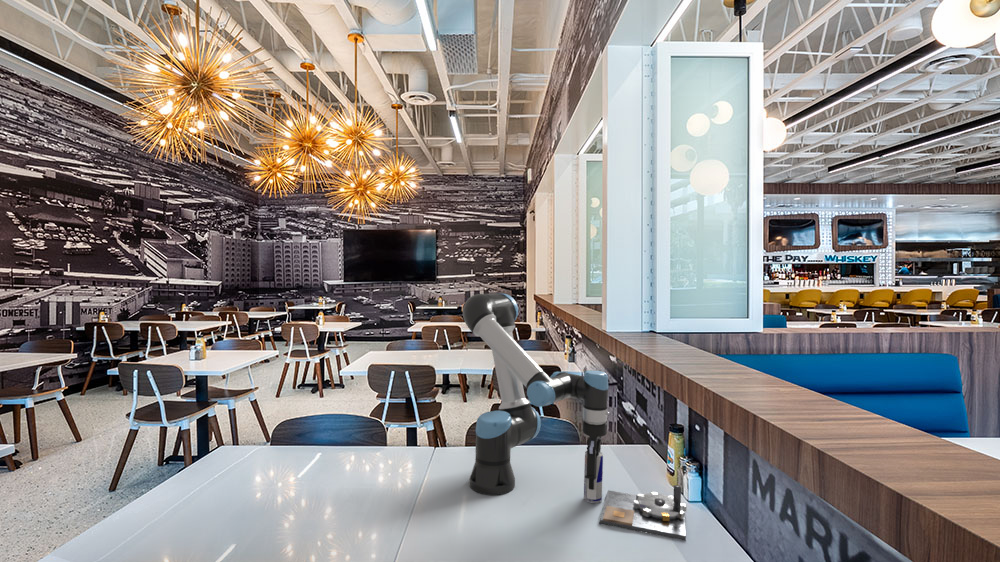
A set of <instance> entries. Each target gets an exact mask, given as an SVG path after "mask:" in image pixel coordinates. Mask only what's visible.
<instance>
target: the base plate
mask: <svg viewBox="0 0 1000 562" xmlns="http://www.w3.org/2000/svg"><path fill="white" fill-rule="evenodd" d="M636 495H637V494H631V493H626V492H625V493H624V492H621V491H615V490H614V491H613V490H609V489H608V490H607V493H606V495H605V496H606V497H605V499H604V503H603V507H602V510H601V514H600V517H599V524H600V525H605V526H609V527H614V528H620V529H624V530H628V531H629V530H630V531H634V530H635V532H639V531H642V532H641V533H645V532H647V533H646V534H650V533H651V535H656V536H661V537H665V538H672V539H677V540H682V541H686V540H687V536H686V535H687V534H686V531H687V529H686V516H685V517H684V518H683V519H679V518H676V519H669V521H663V520H662V519H659V518H655V517H651V516H649V517H646V516H644V515H643V512H641V511H640V510H639V509H638V508H634V500H636ZM636 501H637V500H636ZM606 506H611V507H617V508H623V509H628V510H634V517H633V524H632V526H630V525H625V524H620V523H614V522H609V521H604V520H603V517H604V513H605V510H606ZM683 512H685V511H683Z"/></svg>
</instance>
